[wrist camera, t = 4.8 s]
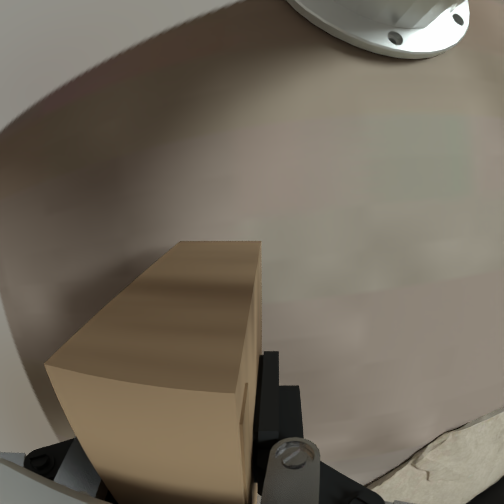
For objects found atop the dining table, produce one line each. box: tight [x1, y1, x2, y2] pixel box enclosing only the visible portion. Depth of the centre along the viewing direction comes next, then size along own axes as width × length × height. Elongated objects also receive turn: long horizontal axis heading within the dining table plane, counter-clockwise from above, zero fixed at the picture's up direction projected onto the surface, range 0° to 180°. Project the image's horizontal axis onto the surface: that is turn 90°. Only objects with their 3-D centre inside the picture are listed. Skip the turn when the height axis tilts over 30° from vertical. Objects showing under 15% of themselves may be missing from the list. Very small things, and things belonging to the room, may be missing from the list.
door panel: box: [44, 241, 262, 504], centre depth 9 cm, size 10×3×8 cm, turn 1°
